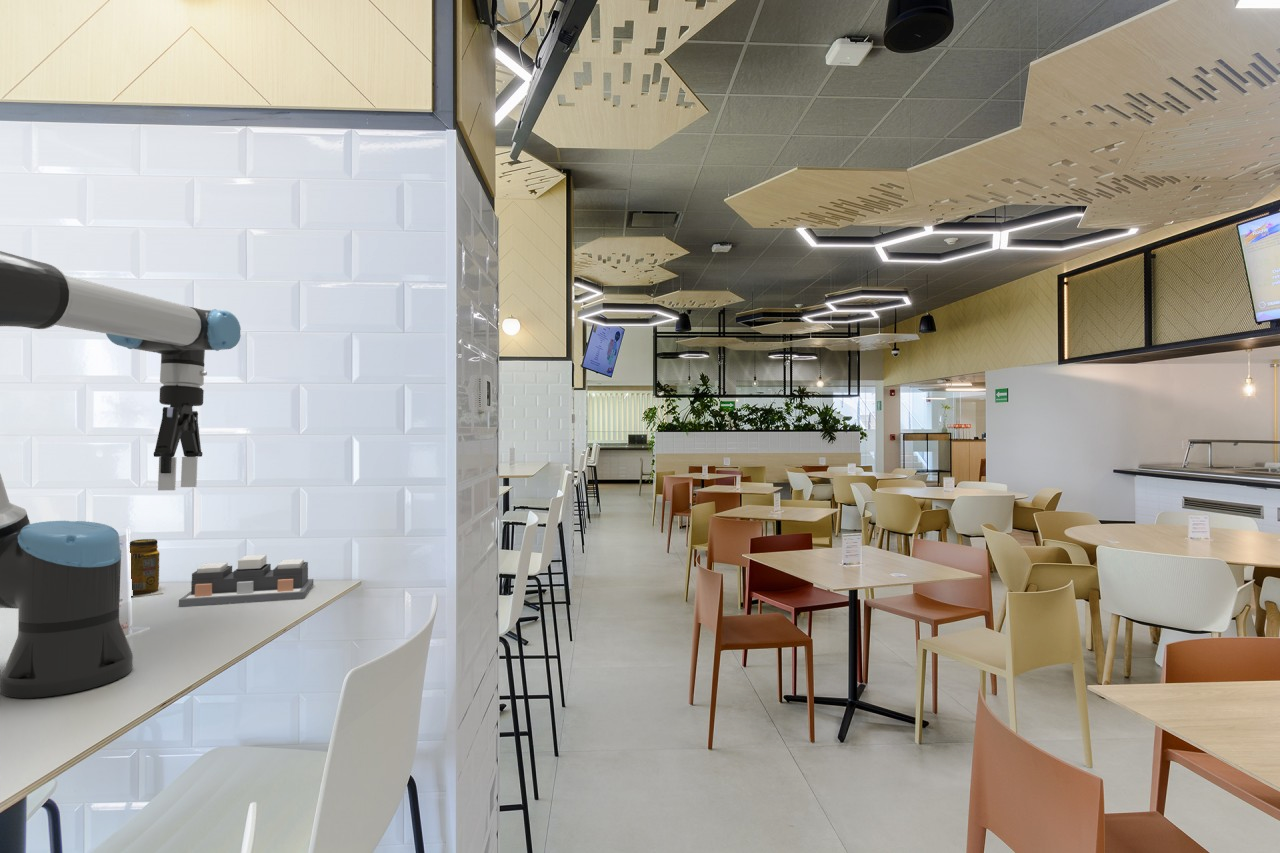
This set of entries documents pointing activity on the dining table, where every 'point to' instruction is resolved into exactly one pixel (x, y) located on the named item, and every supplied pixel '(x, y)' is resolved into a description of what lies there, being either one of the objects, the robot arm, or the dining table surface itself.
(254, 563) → the button mid
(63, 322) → the robot arm
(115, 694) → the dining table surface
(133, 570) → the condiment
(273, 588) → the switch unit
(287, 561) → the button right
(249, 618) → the dining table surface
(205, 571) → the button left
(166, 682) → the dining table surface
